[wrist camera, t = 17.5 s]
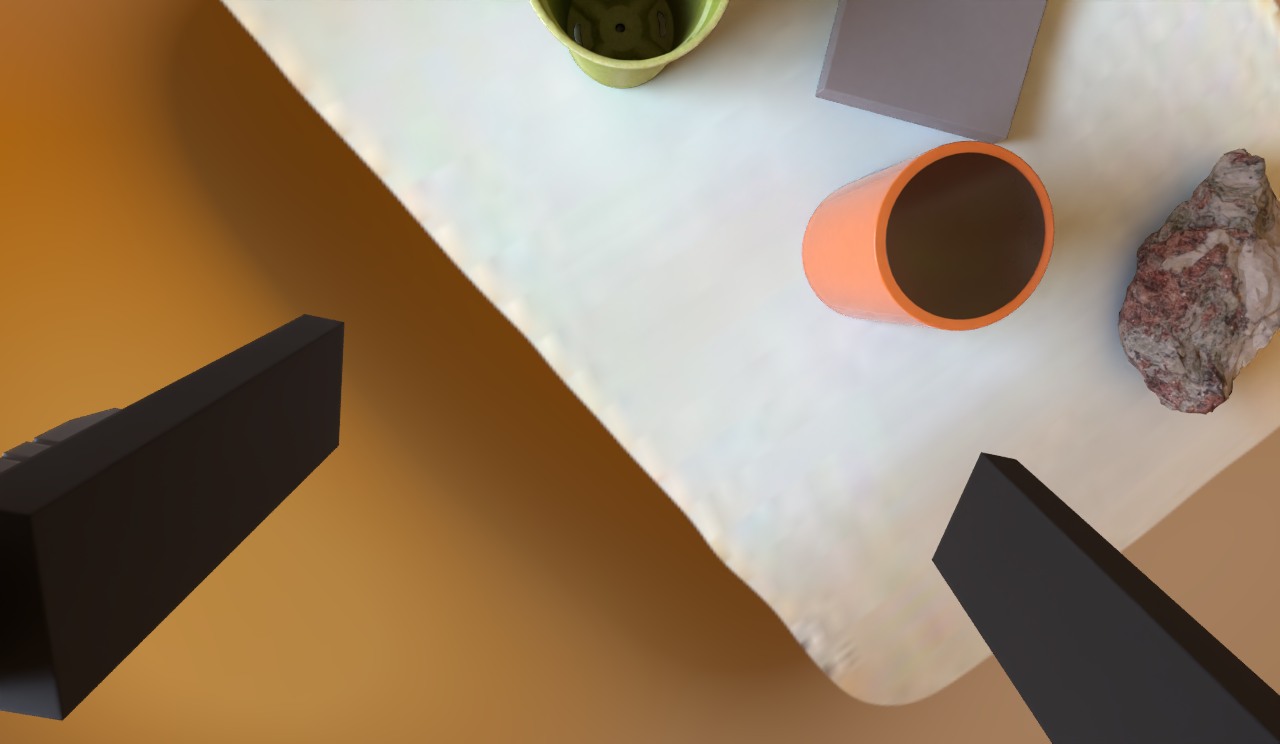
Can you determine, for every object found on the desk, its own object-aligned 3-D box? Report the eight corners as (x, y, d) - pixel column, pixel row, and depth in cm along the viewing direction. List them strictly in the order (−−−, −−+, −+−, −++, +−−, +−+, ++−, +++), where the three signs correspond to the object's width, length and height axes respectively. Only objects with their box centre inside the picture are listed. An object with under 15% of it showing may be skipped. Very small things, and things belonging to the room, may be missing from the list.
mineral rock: (1196, 141, 38) (1273, 122, 33) (1293, 212, 39) (1380, 203, 34) (1054, 351, 39) (1110, 360, 35) (1151, 415, 40) (1218, 431, 36)
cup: (791, 193, 37) (862, 159, 27) (927, 167, 37) (1046, 124, 27) (812, 331, 38) (887, 347, 28) (943, 305, 38) (1063, 311, 28)
